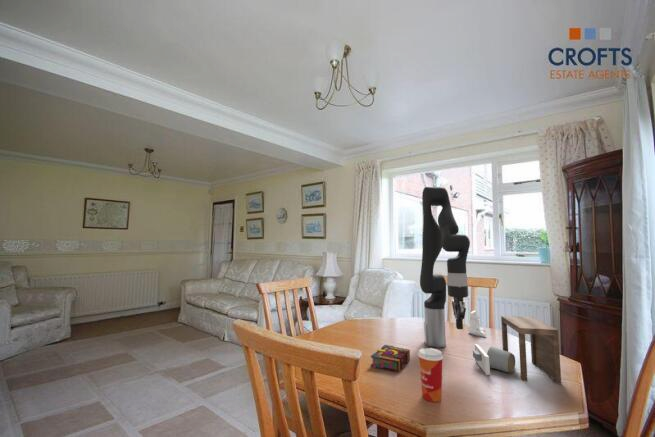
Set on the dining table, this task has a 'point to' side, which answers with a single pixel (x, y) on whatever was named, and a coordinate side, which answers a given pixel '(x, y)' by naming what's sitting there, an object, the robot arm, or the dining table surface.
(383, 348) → the brown patterned box
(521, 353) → the brown wooden small table
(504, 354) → the ceramic mug
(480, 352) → the pull-out front
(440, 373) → the paper cup
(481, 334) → the seated beast figurine
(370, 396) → the dining table surface
